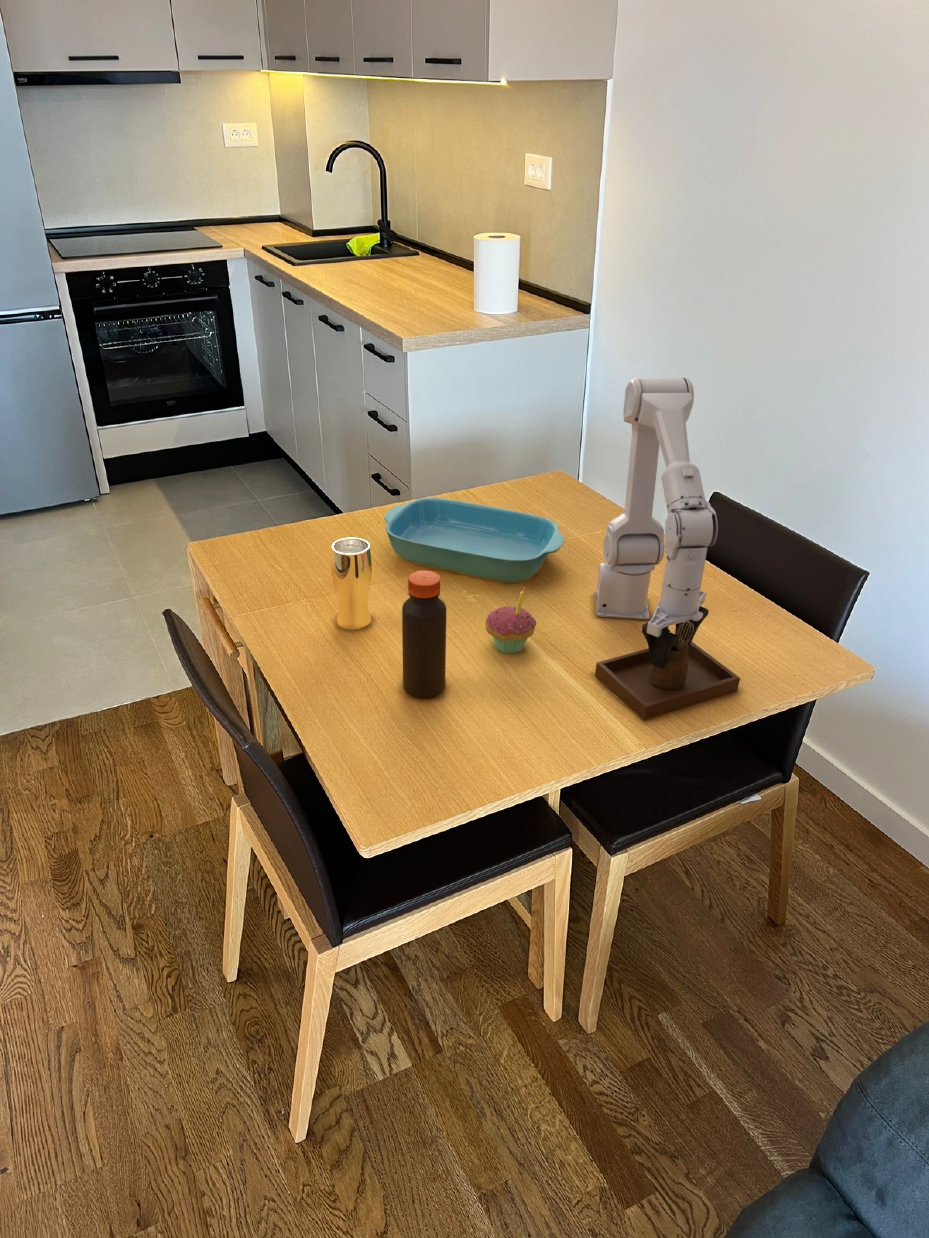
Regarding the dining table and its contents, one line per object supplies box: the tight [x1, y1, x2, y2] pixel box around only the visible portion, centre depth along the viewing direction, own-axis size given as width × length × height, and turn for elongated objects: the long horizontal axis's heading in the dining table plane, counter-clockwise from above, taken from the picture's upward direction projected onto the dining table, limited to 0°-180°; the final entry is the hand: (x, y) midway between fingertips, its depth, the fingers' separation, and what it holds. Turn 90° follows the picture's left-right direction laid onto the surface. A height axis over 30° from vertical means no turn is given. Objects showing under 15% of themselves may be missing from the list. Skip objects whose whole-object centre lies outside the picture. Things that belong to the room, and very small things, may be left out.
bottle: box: [401, 570, 447, 700], centre depth 146 cm, size 7×7×20 cm
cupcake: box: [485, 587, 537, 654], centre depth 159 cm, size 9×8×12 cm
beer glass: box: [330, 537, 373, 631], centre depth 164 cm, size 7×7×15 cm
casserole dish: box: [384, 497, 565, 584], centre depth 189 cm, size 37×22×7 cm, turn 70°
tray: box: [594, 641, 741, 721], centre depth 153 cm, size 19×14×3 cm
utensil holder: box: [649, 621, 694, 690], centre depth 150 cm, size 6×6×12 cm
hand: (669, 656), depth 151 cm, fingers open, 7 cm apart
